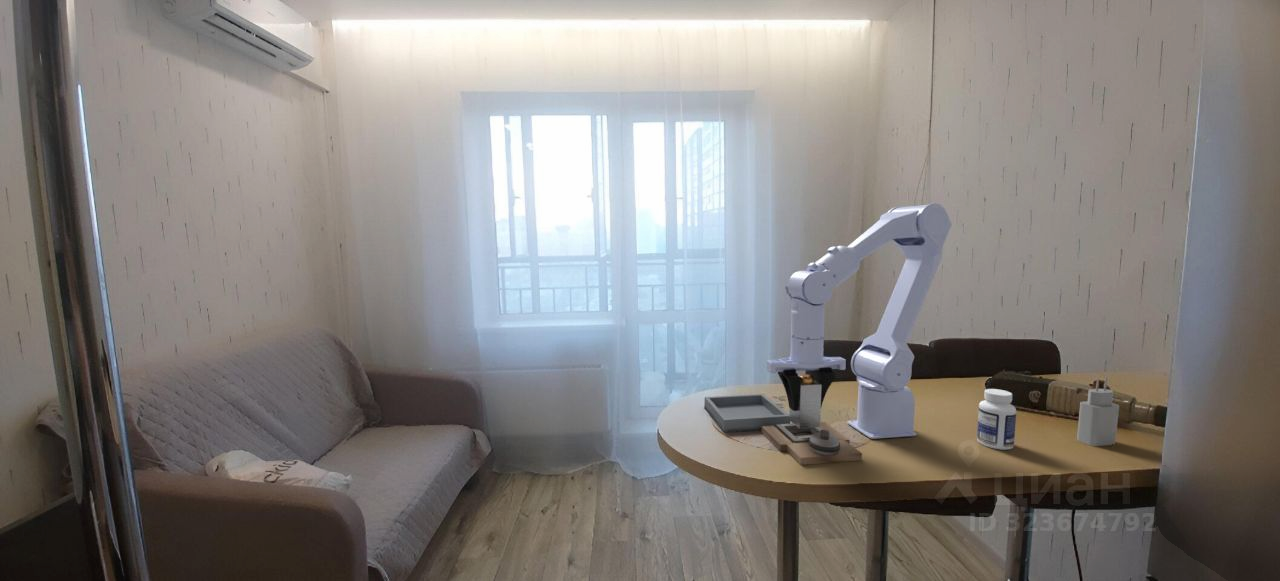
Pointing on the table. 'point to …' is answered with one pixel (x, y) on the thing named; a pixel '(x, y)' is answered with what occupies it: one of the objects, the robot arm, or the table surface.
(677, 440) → the table surface
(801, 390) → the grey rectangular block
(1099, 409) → the power adapter
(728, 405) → the tray
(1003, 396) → the pill bottle
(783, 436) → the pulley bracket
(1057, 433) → the table surface
